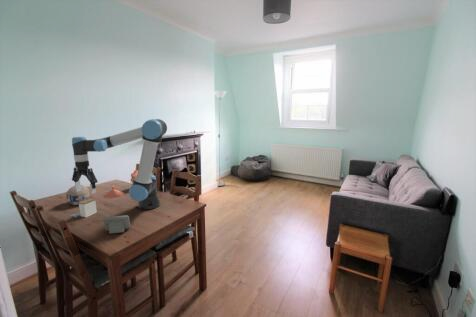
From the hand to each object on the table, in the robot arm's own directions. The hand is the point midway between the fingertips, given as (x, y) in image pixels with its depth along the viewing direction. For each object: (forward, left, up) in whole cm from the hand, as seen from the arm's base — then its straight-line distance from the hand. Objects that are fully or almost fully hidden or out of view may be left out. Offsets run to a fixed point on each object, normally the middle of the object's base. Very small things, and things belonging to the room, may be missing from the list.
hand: (86, 192), depth 155 cm
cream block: (0, 0, -16) cm, 16 cm away
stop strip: (+5, 0, -16) cm, 17 cm away
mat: (+11, 0, -16) cm, 19 cm away
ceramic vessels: (+10, -39, -16) cm, 44 cm away
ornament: (+23, -11, -16) cm, 30 cm away
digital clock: (-36, +10, -16) cm, 40 cm away
